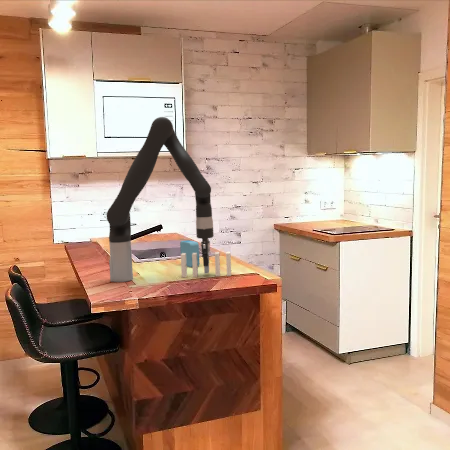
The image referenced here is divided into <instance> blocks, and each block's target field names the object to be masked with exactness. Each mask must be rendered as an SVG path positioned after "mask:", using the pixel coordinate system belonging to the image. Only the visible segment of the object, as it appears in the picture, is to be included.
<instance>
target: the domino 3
mask: <svg viewBox="0 0 450 450" xmlns="http://www.w3.org/2000/svg"><path fill="white" fill-rule="evenodd" d="M204 254H207V253H206V252H204ZM208 256H209V257H208V264H209V265H208V266H203V267H204V268H203V271H204V274H205V275H206V274H210V254H209V255H208Z"/></svg>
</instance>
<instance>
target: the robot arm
mask: <svg viewBox="0 0 450 450" xmlns="http://www.w3.org/2000/svg"><path fill="white" fill-rule="evenodd" d="M163 147H165V149H166V150H168V152H169V154H170V155H171V157H172V159H173V160H174V162H175V163H176V166H177V167H178V169H179V171H180V172H181V174H182V175H183V176H184V178H185V179H186V180H187V182H188V183H189V184H190V187H191V188H192V189H193V192H194V196H195V197H194V198H195V219H196V220H195V230H196V231H195V233H196V238H197V239H201V240H202V241H200V249H201V257H202V261H203V262H202V264H203V267H204V266H208V265H209V266H210V263H209V264H208V257H209V258H210V252H211V240H209V239H211V238H214V237H215V236H214V220H213V209H212V207H213V206H212V203H211V194H212V187H211V185H210V184H209V182H208V181H207V179H206V178H205V177H204V175H203V174H202V172H201V170H200V169H199V167H198V165H197V164H196V163H195V161H194V160H193V158H192V157H191V156H190V154H189V152H188V151H187V150H186V149H185V147H184V146H183V145H182V143H181V142H180V140H179V138H178V136H177V133H176V131H175V129H174V125H173V123H172V121H171V120H170V119H169V118H167V117H165V116H159V117H157V118H155V119H154V120H153V121H152V123H151V126H150V128H149V132H148V134H147V136H146V139H145V141H144V144H142V146H141V148H140V150H139V151H138V152H137V154H136V156H135V158H134V159H133V161H132V162H131V165H130V167H129V169H128V171H127V173H126V175H125V178H124V180H123V182H122V185H121V188H120V189H119V192H118V194H117V196H116V197H115V199H114V201H113V202H112V204H111V206H109V208H108V210H107V212H106V220H107V221H106V222H108V225H109V234H108V242H109V256H110V257H109V260H108V264H109V280H110V282H114V283H123V282H124V283H125V282H130V281H132V280H133V279H134V272H133V255H132V239H131V234H132V226H131V209H132V208H133V205H134V202H135V200H136V199H137V198H138V196H139V195H140V193H141V192H142V191H143V189H144V188H145V187H146V185H147V183H148V181H149V179H150V178H151V175H152V174H153V171H154V168H155V166H156V163H157V160H158V157H159V155H160V153H161V150H162V148H163ZM204 252H206V253H207V254H204ZM208 255H209V256H208Z"/></svg>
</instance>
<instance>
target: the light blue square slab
mask: <svg viewBox="0 0 450 450" xmlns="http://www.w3.org/2000/svg"><path fill="white" fill-rule="evenodd" d="M179 246H180V255H181V254H182V253H186V263H187V268H188V267H189V268H193V266H192V254H193V253H197V262H198V267H199V266H200V263H201V262H200V250H199V249H200V246H199V243H198V241H193V240H181V241H180V243H179Z"/></svg>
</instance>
